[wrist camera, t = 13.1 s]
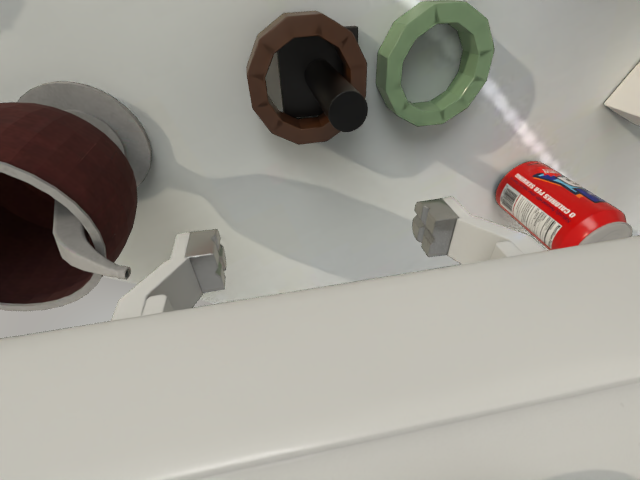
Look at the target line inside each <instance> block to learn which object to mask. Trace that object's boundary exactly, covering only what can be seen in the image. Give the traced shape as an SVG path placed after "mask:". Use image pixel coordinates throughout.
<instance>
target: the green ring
mask: <svg viewBox="0 0 640 480" xmlns="http://www.w3.org/2000/svg"><path fill="white" fill-rule="evenodd" d="M445 23H448V24H449V25H451V26H452V27H453V28H455V29H456V30H457V31H458V35H459V38H460V42H461V45H462V49H463V52H462V57H461V62H460V67H459V72H458V73H457V75H456V76H455V78H454V79H453V81H452V82H451V84H450V86H449V87H448V89H447V90H446V91H445V92H443V93H442V94H440V95H439V96H437V97H436V98H434V99H433V100H431V101H430V102H420V103H411V102H409V101H407V99H406V96H405V94H404V92H403V90H402V87H401V76H402V66H403V61H404V59H405V57H406V55H407V54H408V52H409V50H410V48H411V47H412V45H413V43H414V41H415V40H416V39H417V38H418V37H419V36H421V35H422V34H424V33H425V32H426V31H428V30H429V29H430V28H432V27H433V26H435V25H436V24H445ZM493 53H494V45H493V40H492V36H491V32H490V27H489V23H488V19H487V18H486V17H484V16H483V15H482V14H481V13H480V12H478V11H477V10H476V9H475V8H473V7H472V6H471V5H470V4H468V3H467V2H464V1H455V0H440V1H425V2H420V3H418V4H417V5H416V6H414V7H413V8H412V9H410V10H409V11H408V12H406V13H405V14H404V15H402V16H401V17H400V18H398V19H397V20H396V21H394V23H393V25H392V27H391V28H390V30H389V32H388V34H387V36H386V38H385V40H384V42H383V44H382V45H381V47H380V49H379V51H378V55H377V72H376V85H377V87H378V89H379V91H380V93H381V96H382V98H383V100H384V102H385V104H386V106H387V107H388V108H389V109H390V110H391V111H392V112H394V113H395V114H396V115H397V116H399V117H401V118H403V119H404V120H406V121H408V122H410V123H412V124H414V125H415V126H427V125H436V124H443V123H445V122H446V121H448V120H449V119H451V118H452V117H454V116H456V115H457V114H459V113H460V112H462V111H463V110H465V109H466V108H467V107H468V106H469V105H470V104H471V102H472V101H473V99H474V98H475V97H476V95H477V94H478V92H479V91H480V89H481V88H482V87H483V85H484V84H485V82H486V81H487V77H488V73H489V69H490V65H491V61H492V57H493Z"/></svg>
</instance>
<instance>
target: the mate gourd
mask: <svg viewBox="0 0 640 480" xmlns="http://www.w3.org/2000/svg"><path fill="white" fill-rule="evenodd" d="M150 164H151V147H150V142H149V139H148V137H147V134H146V132H145V130H144V128H143V127H142V125H141V124H140V122H139V121H138V119H137V118H136V117H135V116H134V115H133V114H132V113H131V112H130V110H129V109H128V108H127V107H125V106H124V105H123V104H122V103H120V102H119V101H118V100H116V99H115V98H113V97H112V96H110V95H108V94H106V93H105V92H103V91H101V90H98V89H96V88H93V87H91V86H88V85H84V84H80V83H75V82H62V81H57V82H51V83H45V84H42V85H40V86H37V87H35V88H33V89H31V90H29V91H28V92H27V93H25V94H24V95H23V96H21V97H20V99H19V100H18V102H12V103H0V310H7V311H36V310H46V309H51V308H56V307H61V306H64V305H67V304H69V303H72V302H74V301H77V300H79V299H80V298H82V297H83V296H85V295H87V294H88V293H89V292H90V291H91V290H92V289H93V288H94V287H95V286H96V285H97V284H98V283H99V281H100V279H101V277H102V276H103V275H104V276H109V277H117V278H119V279H128V278H129V276H130V274H131V269H130V267H126V266H119V265H117V264H115V263H114V262H115V260H116V259H117V258H118V256H119V255H120V253H121V251H122V250H123V248H124V246H125V244H126V242H127V240H128V237H129V235H130V233H131V230H132V228H133V224H134V220H135V215H136V208H137V187H138V186H139V185H140V184H141V183H142V182H143V181H144V179H145V177H146V175H147V173H148V171H149V169H150Z"/></svg>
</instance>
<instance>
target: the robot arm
mask: <svg viewBox="0 0 640 480" xmlns="http://www.w3.org/2000/svg"><path fill="white" fill-rule="evenodd" d="M414 211H415V212H416V214H417V215H416V216H415V217H414V219H413V222H412V230H413V234H414V237H415V238H416V240H417V241H419V242H421V243H422V246H421V247H422V249H423V250H424V252H425V253H426V255H427V256H428V257H433V256H441V255H447V256H449V257H451V258H452V259H454V260H455V261H457V262H459V263H460V265H454V266H448V267H441V268H435V269H429V270H423V271H417V272H411V273H404V274H398V275H392V276H386V277H380V278H373V279H367V280H361V281H355V282H349V283H342V284H336V285H330V286H324V287H318V288H311V289H305V290H299V291H293V292H287V293H280V294H274V295H268V296H262V297H256V298H249V299H243V300H237V301H231V302H225V303H218V304H212V305H207V306H200V307H194V305H195V304H196V303H197V301H198V300H199V299H200V297H201V296H202V295H203V294H202V293H206V292H211V291H217V290H222V289H225V279H226V277H225V273H224V271H225V270H226V256H225V251H224V247H223V246H222V245H221V244H220V240H221V237H220V234H219V231H218V229H212V230H203V231H194V232H186V233H179V234H177V235H176V238H175V242H174V245H173V249H172V253H171V257H170V260H168V261H165V262H164V263H163V264H161V265H160V266H159V267H158V268H157V269H155V270H154V271H153V272H152V273H151V274H149V275H148V276H147V277H146V278H145V279H143V280H142V281H141V282H140V283H139V284H138V285H136V286H135V287H134V288H133V289H132V290H131V291H129V292H128V293H127V294H126V295H124V296H123V297H122V298H121V299H120V300H119V301H118V304H117V306H116V309H115V312H114V314H113V316H112V319H111V321H107V322H102V323H95V324H89V325H82V326H76V327H70V328H64V329H58V330H52V331H45V332H39V333H33V334H27V335H20V336H13V337H6V338H0V480H640V236H633V237H627V238H621V239H615V240H608V241H602V242H596V243H590V244H584V245H578V246H572V247H566V248H560V249H553V250H546V249H545V248H544V247H542V246H541V245H540V244H539V243H538V242H537V241H536V240H535V239H534V238H532V237H531V236H529V235H526V234H523V233H521V232H518V231H515V230H512V229H510V228H507V227H504V226H502V225H499V224H496V223H493V222H491V221H488V220H485V219H483V218H480V217H477V216H472V215H471V214H470V213H469V212H468V211H467V210H466V209H465V208H464V207H463V206H462V205H461V204H460V203H459V202H458V201H457V200H456V199H455V198H454V197H451V196H450V197H444V198H440V199H433V200H427V201H420V202H417V203H416V205H415V209H414ZM193 307H194V308H193Z"/></svg>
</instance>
